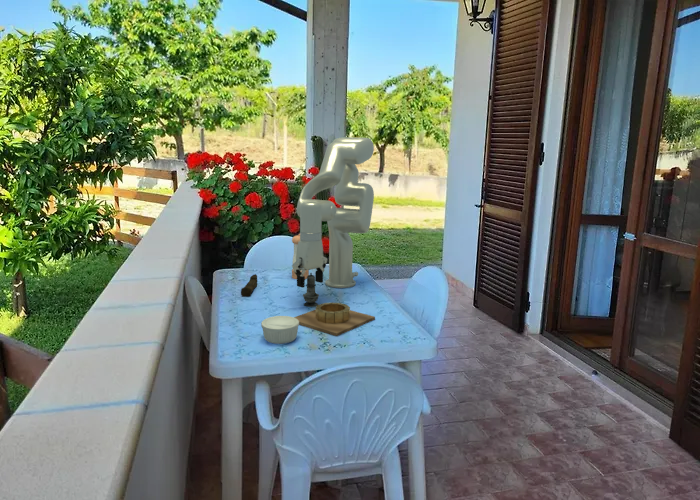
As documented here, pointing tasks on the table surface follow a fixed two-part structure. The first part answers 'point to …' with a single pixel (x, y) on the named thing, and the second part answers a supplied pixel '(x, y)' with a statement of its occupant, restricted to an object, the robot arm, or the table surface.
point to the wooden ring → (332, 313)
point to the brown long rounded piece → (249, 286)
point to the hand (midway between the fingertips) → (310, 284)
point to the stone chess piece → (310, 292)
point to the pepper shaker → (295, 241)
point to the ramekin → (280, 329)
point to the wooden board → (334, 329)
